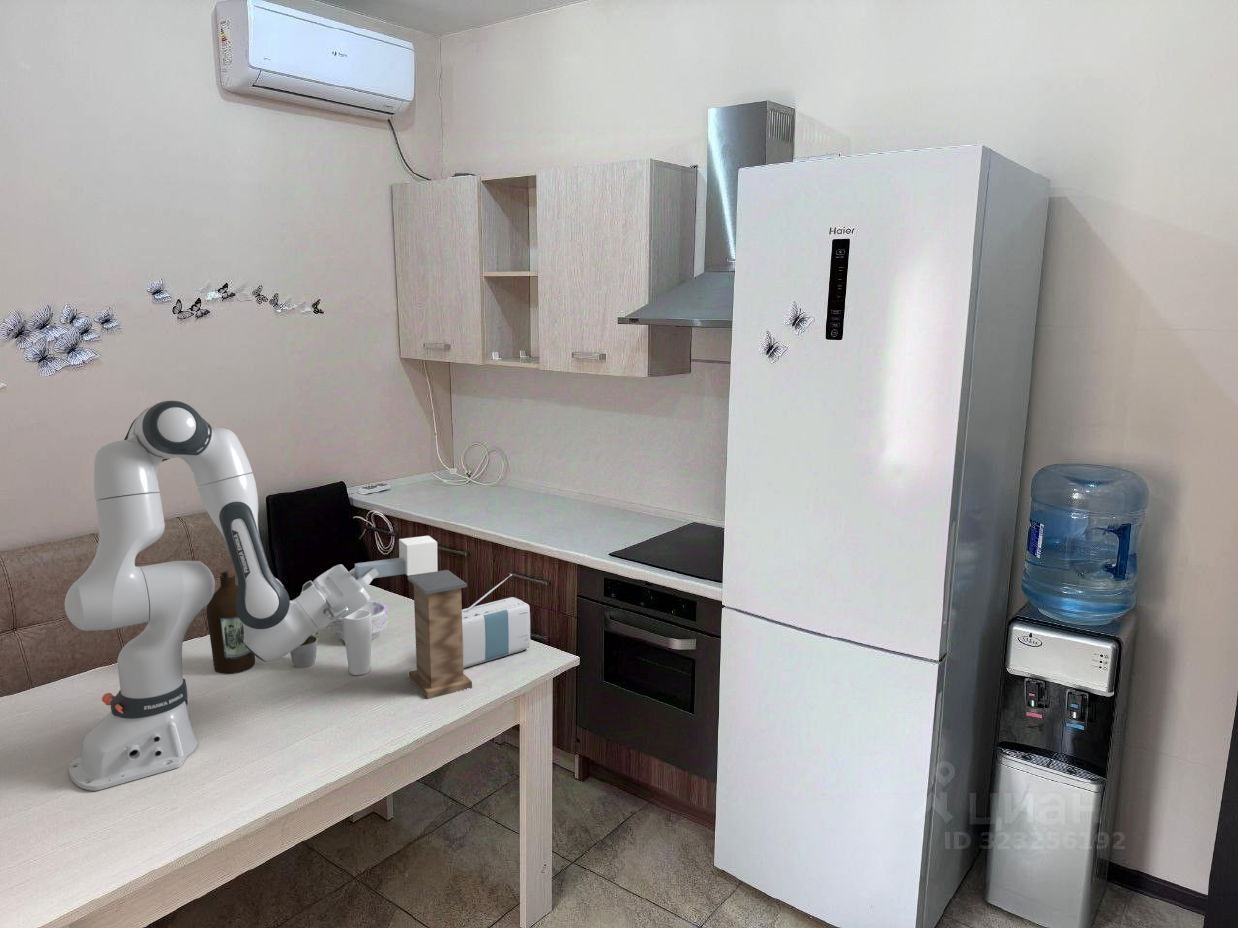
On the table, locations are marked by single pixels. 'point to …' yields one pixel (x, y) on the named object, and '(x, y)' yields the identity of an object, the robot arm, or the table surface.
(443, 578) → the stand
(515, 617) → the stereo radio cassette player
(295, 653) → the house plant
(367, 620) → the drinking glass
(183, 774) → the table surface
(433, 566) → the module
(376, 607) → the paper bowls
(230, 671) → the olive oil
